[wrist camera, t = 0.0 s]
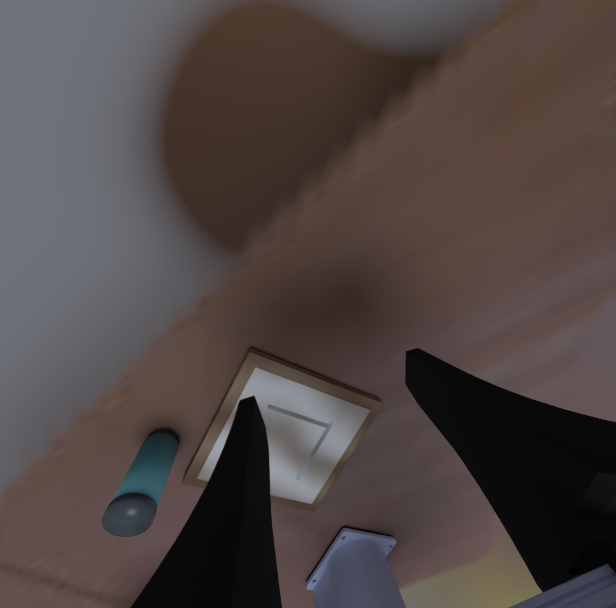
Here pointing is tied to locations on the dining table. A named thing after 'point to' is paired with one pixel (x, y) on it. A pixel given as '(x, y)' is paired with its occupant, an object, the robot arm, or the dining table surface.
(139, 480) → the marker
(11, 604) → the dining table surface
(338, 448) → the writing board
